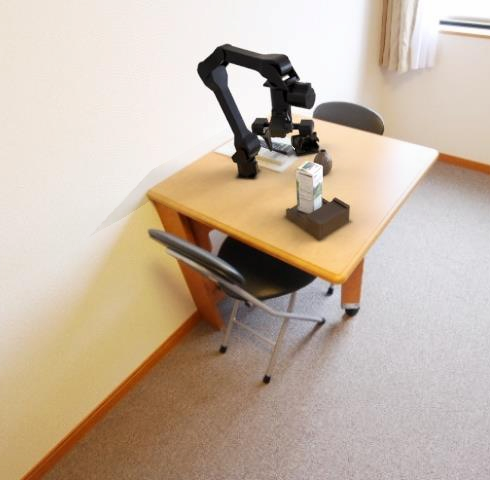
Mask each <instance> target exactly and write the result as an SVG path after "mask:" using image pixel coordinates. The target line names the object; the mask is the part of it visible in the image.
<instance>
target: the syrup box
mask: <svg viewBox="0 0 490 480" xmlns="http://www.w3.org/2000/svg"><path fill="white" fill-rule="evenodd" d="M323 176H324V175H323V166H322V165H319V164H316V163H313V161H309V160H306V161H304V162H303V163H302V164H301V165H300V166H298V167H297V168H296V169H295V186H296V203H297V204H296V205H297V210H299V211H302V212H305V213H309V214H310V213H311V212H313V211H315V210H316V209H318V208H320V207H321V206H322V198H323V181H324V179H323Z"/></svg>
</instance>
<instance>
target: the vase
mask: <svg viewBox="0 0 490 480" xmlns="http://www.w3.org/2000/svg"><path fill="white" fill-rule="evenodd" d="M312 162H313V163H316V164H319V165H322V166H323V176H326V175H329V173H331V171H332V169H333V159H332V156H331V155H330V154H329V153H328V151H327V150H326V149H324V148H321V149H319V152H318V153H316V155H315V157H313V161H312Z"/></svg>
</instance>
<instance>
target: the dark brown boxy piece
mask: <svg viewBox="0 0 490 480" xmlns="http://www.w3.org/2000/svg"><path fill="white" fill-rule="evenodd" d="M350 210H351V206H350V204H348V203H346V202H345V201H343V200H341V199H339V198H338V197H333V198H332V200H331V201H329V200H327V199H326V198H324V197H322V206H321V207H320V208H318V209H316V210H315V211H313V212H311V213H310V214H309V213H305V212H302V211H299V210H297V204H296V205H294V206H292V207H290V208H289V207H287V208H285V217H286V218H287V219H288V220H290V221H291V222H293V223H294V224H295V225H297V226H298V227H300V228H301V229H303V230H304V231H305V232H306V233H308V234H310V235H311V236H313V237H314V238H315V239H317V240H318V241H321V240H323V239H324V238H325V237H327V236H329V235H330V234H331V233H333V232H335V231H336V230H338V229H340V228H341V227H343V226H345V225H346V224H348V223H349V222H350Z"/></svg>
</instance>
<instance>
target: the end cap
mask: <svg viewBox="0 0 490 480" xmlns="http://www.w3.org/2000/svg"><path fill="white" fill-rule="evenodd" d="M298 135H299V133H297V134H293V135H291V136H290V145H291V147H292V146H293V147H294V148H295V150H293V151H294V153H295V155H296V156H297V157H301V156H307V155H313V154H318V153H319V151H320V145H319V143H320V138H319V137H318V132H317V131H313V133H312V135H310V136H308V137H307V138H304V140H303V143H302V146H301V150H300V153H298Z"/></svg>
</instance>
